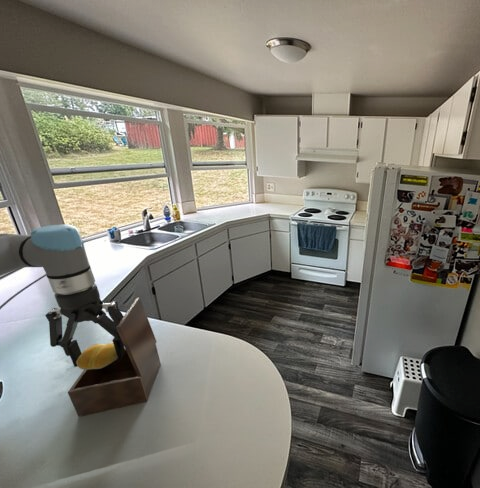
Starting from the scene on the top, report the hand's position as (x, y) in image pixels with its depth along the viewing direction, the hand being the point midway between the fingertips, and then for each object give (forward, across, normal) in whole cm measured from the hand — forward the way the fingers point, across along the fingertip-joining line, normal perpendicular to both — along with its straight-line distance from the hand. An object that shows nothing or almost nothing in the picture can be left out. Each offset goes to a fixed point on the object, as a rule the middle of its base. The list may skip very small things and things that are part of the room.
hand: (101, 358), depth 69 cm
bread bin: (+12, +3, 0) cm, 12 cm away
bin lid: (-6, +10, 0) cm, 11 cm away
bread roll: (0, 0, 0) cm, 1 cm away
